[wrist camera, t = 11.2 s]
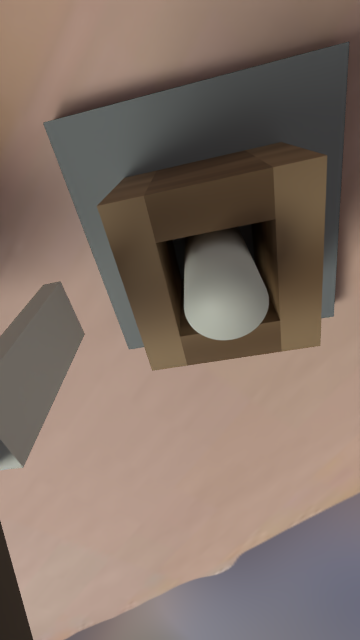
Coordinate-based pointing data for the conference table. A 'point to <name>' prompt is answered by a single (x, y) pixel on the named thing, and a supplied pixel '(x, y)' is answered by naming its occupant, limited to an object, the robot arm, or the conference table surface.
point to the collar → (212, 215)
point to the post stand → (199, 144)
